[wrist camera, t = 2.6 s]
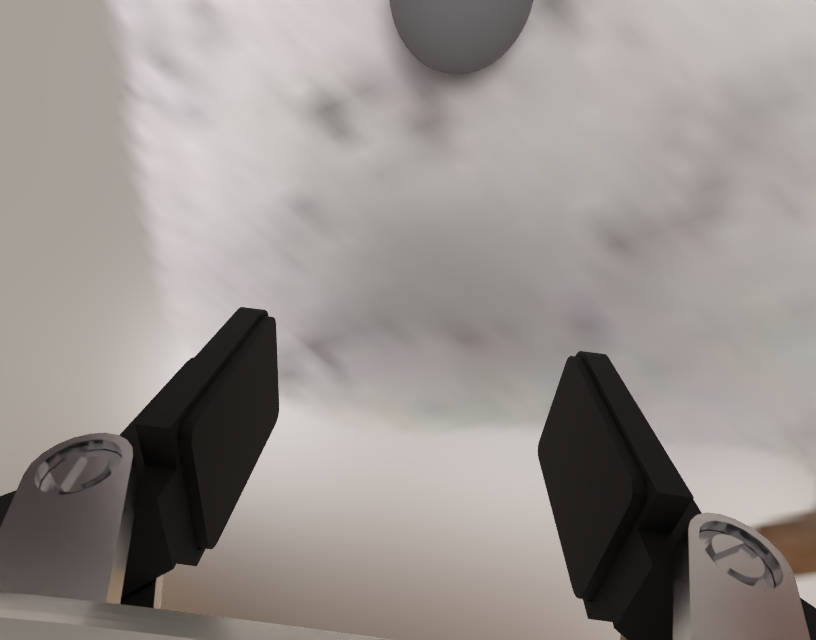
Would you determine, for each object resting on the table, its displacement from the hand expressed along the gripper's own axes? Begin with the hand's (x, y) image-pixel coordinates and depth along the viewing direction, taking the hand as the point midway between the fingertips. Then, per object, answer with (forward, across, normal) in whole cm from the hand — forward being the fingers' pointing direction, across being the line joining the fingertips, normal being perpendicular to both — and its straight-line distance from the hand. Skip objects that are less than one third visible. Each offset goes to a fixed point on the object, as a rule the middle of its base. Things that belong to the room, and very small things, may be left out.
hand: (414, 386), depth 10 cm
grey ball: (+13, 0, -10) cm, 16 cm away
